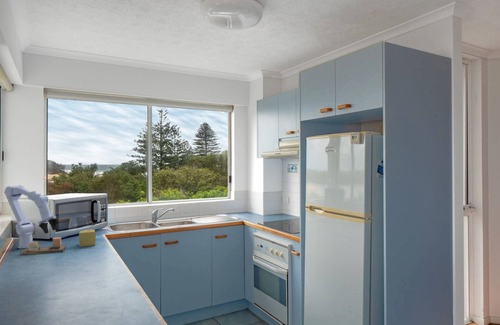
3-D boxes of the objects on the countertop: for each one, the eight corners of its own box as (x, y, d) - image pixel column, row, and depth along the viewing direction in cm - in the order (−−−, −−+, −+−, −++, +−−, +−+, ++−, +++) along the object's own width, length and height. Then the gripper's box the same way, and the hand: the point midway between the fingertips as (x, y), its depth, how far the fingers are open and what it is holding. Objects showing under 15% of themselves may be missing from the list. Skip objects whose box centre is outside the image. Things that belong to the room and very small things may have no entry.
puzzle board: (25, 250, 231) (25, 248, 231) (65, 247, 238) (65, 245, 238) (20, 255, 220) (20, 252, 220) (62, 251, 228) (62, 249, 228)
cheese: (79, 243, 250) (79, 230, 250) (95, 242, 255) (95, 228, 255) (78, 247, 241) (78, 232, 241) (95, 245, 245) (95, 231, 245)
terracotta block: (54, 246, 241) (54, 237, 241) (61, 246, 243) (61, 237, 243) (52, 248, 237) (52, 239, 237) (60, 247, 238) (59, 238, 238)
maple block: (30, 251, 229) (30, 241, 229) (38, 251, 230) (38, 241, 230) (28, 253, 225) (28, 243, 224) (36, 252, 226) (36, 242, 226)
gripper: (57, 208, 236) (63, 227, 235) (43, 214, 241) (48, 233, 240) (48, 210, 230) (54, 229, 228) (33, 216, 235) (39, 235, 233)
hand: (50, 231), depth 234 cm, fingers open, 7 cm apart
